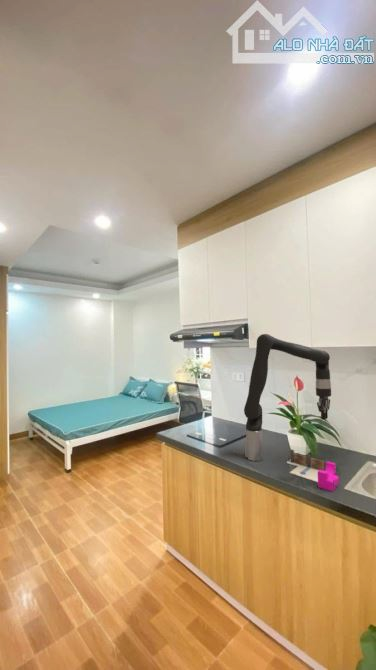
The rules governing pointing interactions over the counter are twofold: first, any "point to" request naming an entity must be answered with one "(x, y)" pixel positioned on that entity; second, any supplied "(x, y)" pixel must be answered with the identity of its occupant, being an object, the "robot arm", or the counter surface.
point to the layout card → (304, 471)
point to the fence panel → (318, 464)
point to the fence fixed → (300, 459)
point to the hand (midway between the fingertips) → (324, 418)
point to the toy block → (328, 477)
